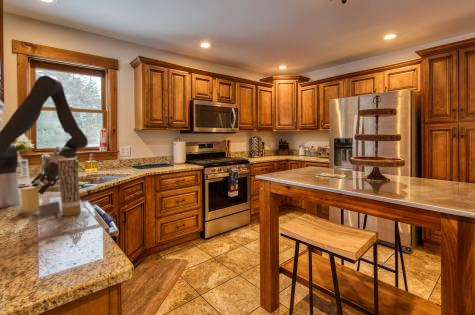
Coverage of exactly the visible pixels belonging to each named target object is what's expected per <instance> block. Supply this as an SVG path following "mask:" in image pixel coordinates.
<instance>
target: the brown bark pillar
mask: <svg viewBox="0 0 475 315" xmlns="http://www.w3.org/2000/svg"><path fill="white" fill-rule="evenodd" d="M58 170H59V180H58V181H59V187H60V188H59V189H60V199H61V210H62V215H63V216H64V217H69V216H76V215H79V214H81V211H82V208H81V196H80V186H79V175H78V162H77V158H76V157H75V158H64V159H58Z"/></svg>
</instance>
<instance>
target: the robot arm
mask: <svg viewBox="0 0 475 315" xmlns="http://www.w3.org/2000/svg"><path fill="white" fill-rule="evenodd" d="M65 93H66V92H65V90H64V87H63V84H62V82H61V81H60V79H58V78H57V77H55V76H50V75H40V76H39V77H38V78H37V79H36V80H35V82H34V84H33V86H32V87H31V90H30V92H29V93H28V95H27V96H26V97H25V98H24V100H23V101H22V102H21V103H20V105H19V106H18V107H17V108H16V110H15V111H14V112H13V114H11V117H10V118H9V119H8V121H7V122H6V123H5V124H4V126H3V127H2V129H1V130H0V208H2V209H3V208H10V207H14V206H17V205H21V200H20V199H21V198H20V190H19V180H18V174H17V173H18V172H17V168H18V165H19V163H18V162H19V161H18V160H19V158H18V149H17V147H16V146H15V144H14V142H15V141H16V140H17V139H19V138H20V137H21V136H23V135H24V134H26V133H27V132H28V131H30V130H31V129H32V128H33V126H35V124H36V122H37V121H38V120H39V117H40V116H41V113H42V109H43V107H44V104H45V103H46V101H47V100H49V98H50V99H51V100H52V102H53V105H54V107H55V111H56V116H57V119H58V121H59V123H60V125H61V127H62V129H63V131H64V132H65V133H66V134H69V136H70V138H69V139H68V140H67V141H66V143H65V144H64V146H63V147H62V149H61V150H60V151H59V152H58V153H57V155H55V156H54V157H53V158H52V160H50V162H49V163H48V164H47V165H46V166H45V167H44V168H43V170H44V173H43V174H42V173H39V174H38V175H37V176H36V177H35V178H34V179H33V180H32V181H31V183H30V184H31V185H30V187H40V186H41V187H40V189H38V194H40V195H44V194H45V193H46V192H47V190H48V189H49V188H53V187H54V186H55V185H56V184H57V182H58V181H60V180H59V170H58V159H64V158H76V155H77V151H79V150H80V149H85V148H86V147H87V146H88V143H89V142H88V141H89V140H88V137H87V136H86V135H85V133H84V131H82V129H81V128H80V127H79V125H78V123H77V121H76V119H75V117H74V115H73V112H72V110H71V108H70V106H69V104H68V99H67V97H66V94H65Z"/></svg>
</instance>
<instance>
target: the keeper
mask: <svg viewBox="0 0 475 315" xmlns="http://www.w3.org/2000/svg"><path fill="white" fill-rule="evenodd" d="M38 187H39V186H38ZM38 187H31V186H28V187H22V188H20V192H21V203H22V211H25V212H33V211H37V210H39V206H40V198H39V193H38V191H39V188H38Z"/></svg>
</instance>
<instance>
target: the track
mask: <svg viewBox="0 0 475 315" xmlns="http://www.w3.org/2000/svg"><path fill="white" fill-rule="evenodd" d="M39 205H40V204H39ZM59 212H60V213H61V211H60V202H59V201H54V202H50V203H45V204H41V205H40V206H39V210H37V211H33V212H25V211H23V210H19V211H18V213H19V214H26V215H33V216H39V217H46V216H49V215H53V214H56V213H59Z"/></svg>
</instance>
